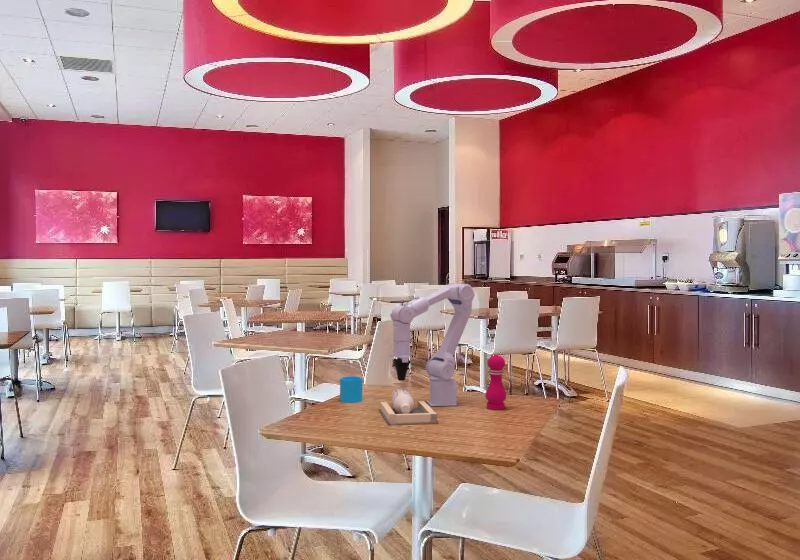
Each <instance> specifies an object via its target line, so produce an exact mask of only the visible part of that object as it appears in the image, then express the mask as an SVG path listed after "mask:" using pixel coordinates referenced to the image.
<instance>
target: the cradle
mask: <svg viewBox="0 0 800 560" xmlns="http://www.w3.org/2000/svg"><path fill="white" fill-rule="evenodd" d="M378 412H379V413H380V415H381V417H382V418H383V419H384V421H385V422H386V424H387V425H388V426H396V425H397V426H400V425H402V426H403V425H405V426H406V425H430V424H434V425H436V424H439V420H438V413H437V412H436V411H435V410H433V408H432V407H431V406H430V405H429V404H428V403H427V402H425V401H424V400H418V401H417V407H414V408H413V410H412V411H411V412H410V413H409V414H399V413H397V412H396V411H395V409H394V408H391V406H390V405H389V403H388V402H387V401H380V407H379V408H378Z"/></svg>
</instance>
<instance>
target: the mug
mask: <svg viewBox="0 0 800 560" xmlns="http://www.w3.org/2000/svg"><path fill="white" fill-rule="evenodd" d="M339 380H340V381H339V401H340V402H341V403H348V404H353V403H361V402H362V401H363V377H361V376H349V375H348V376H341V377H340V378H339Z"/></svg>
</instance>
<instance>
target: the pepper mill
mask: <svg viewBox="0 0 800 560" xmlns="http://www.w3.org/2000/svg"><path fill="white" fill-rule="evenodd" d="M493 354H494V355H492V356H490V357H489V358H488V359H487V366H488V367H489V369H488V371H489V372H488V374H489V375H490V378H489V379H490V380H489V384H488V386H487V388H486V391H485V396H484V397H485V399H486V400H487V402H486V409H488V410H493V411H502V410H505V408H506V404H505V402H504V401H505V400H506V399H507V392H506V389H505V387H504V384H503V374H504V368H505V365H506V360H505V358H504V357H502V356H501V355H500V352H499V350H495V351H494V352H493Z"/></svg>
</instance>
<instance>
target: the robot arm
mask: <svg viewBox="0 0 800 560" xmlns="http://www.w3.org/2000/svg"><path fill="white" fill-rule="evenodd" d="M474 297H475V292H474V289H473V287H472V286H471V285H470V284H469V283H455V282H450V283H447V284H445V285H442V287H440V288H439V289H437V290H435V291H434V292H431V294H428V295H427V296H425V297H423V296H417V295H416V296H414V297H413V299H412V300H410V301H408V302H403V304H402V305H397V306H395V307H393V309H392V310H391V313H390V315H389V316H390V318H391V320H392V325H393V352H391V353H389V356H390V357H395V358H397V359H392V362H393V364H394V366H395V370H396V376H397V380H398V381H401V382H403V381H406V376H407V371H408V368H409V367H410V364H411V360H410V357H411V323H412V322H413V320H414V319H415V318H416V317H418V316H420V315H422V314H424V313H426V312H427V311H429V307H430V306H432V305H435V304H437V303H440V302H441V301H444V300H447V301H448V302H449V303H450V305H451V306H452V307H453V309H454V313H453V315H452V319H451V320H450V323H449V325H448V328H447V330H446V333H445V335H444V337H443V341H442V342H441V344H440V346H439V349H438V351H436V352H434V353H433V354H432V357H431V358H430V359H429V360H428V361H427V363H426V365H425V372H426V373H427V375H428V378H429V393H428V394H429V396H428V397H429V399H427V400H426V402H425V403H426V404H427V405H428V406H429V407H446V406H447V407H449V406H454V407H455V406H458V404H457V397H458V396H457V394H458V393H457V389H458V386H457V385H458V384H457V381H456V379H455V378H452V377H453V376H454V374H455V365H456V363H457V362H456V360H455V358H454V355H455V353H456V351H457V347H458V346H459V343H460V340H461V338H462V335H463V333H464V331H465V328H466V326H467V324H468V322H469V318H470V316H471V314H472V308H473V306H472V305H473V300H474Z"/></svg>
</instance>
